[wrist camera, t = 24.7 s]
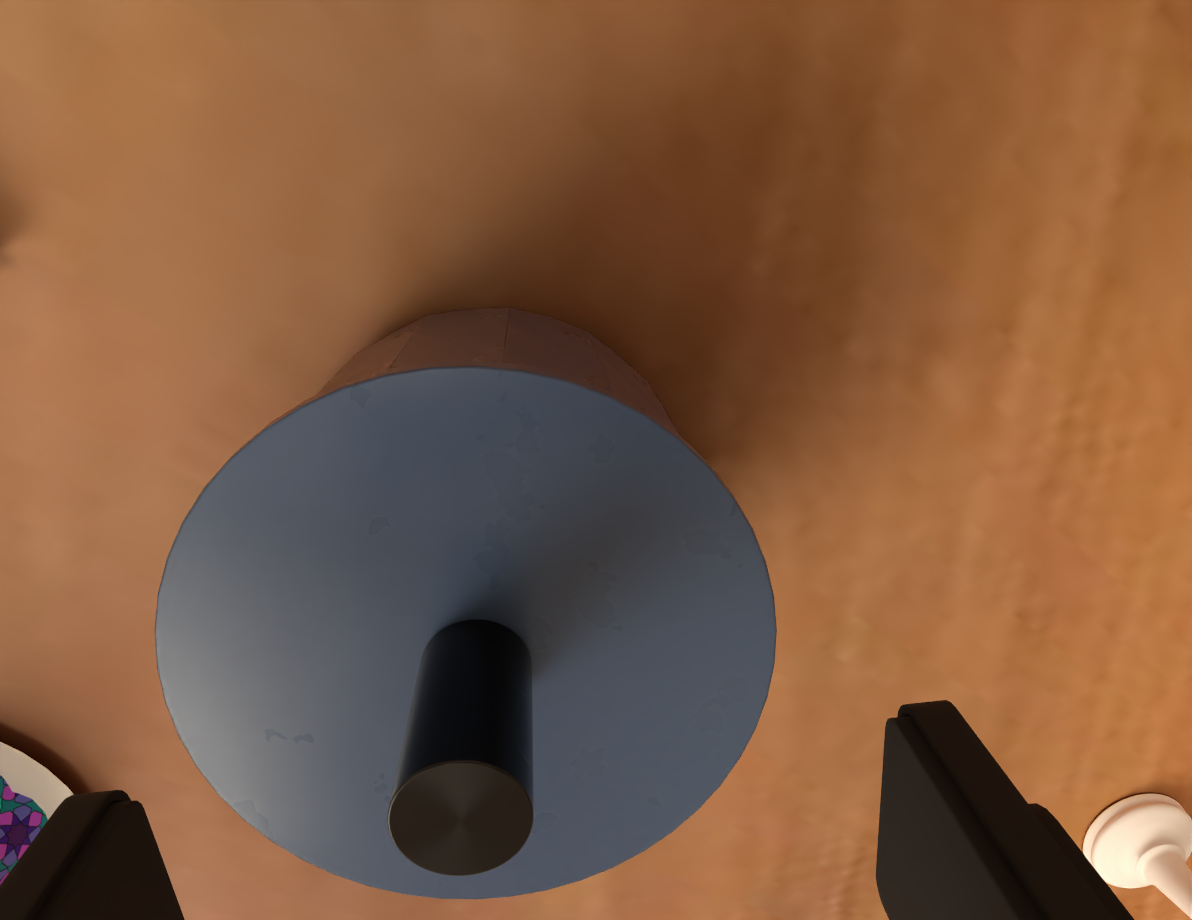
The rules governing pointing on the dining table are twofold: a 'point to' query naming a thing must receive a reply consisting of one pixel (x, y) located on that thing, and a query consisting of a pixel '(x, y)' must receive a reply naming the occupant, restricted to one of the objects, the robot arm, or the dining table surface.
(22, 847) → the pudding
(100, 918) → the robot arm
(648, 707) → the lid
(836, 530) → the dining table surface
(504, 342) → the tin
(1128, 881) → the chess piece
